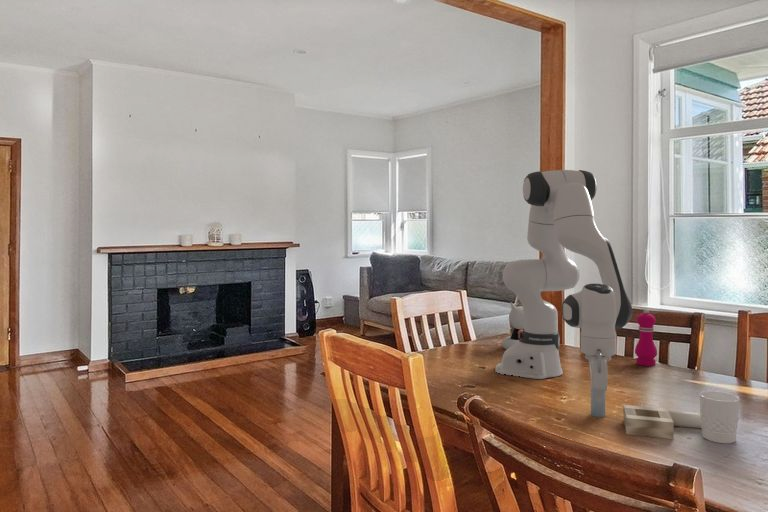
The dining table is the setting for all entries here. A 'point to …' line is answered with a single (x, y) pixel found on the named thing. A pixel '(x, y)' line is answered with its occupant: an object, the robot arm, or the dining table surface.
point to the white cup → (719, 416)
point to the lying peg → (686, 419)
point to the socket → (648, 421)
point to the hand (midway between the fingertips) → (597, 397)
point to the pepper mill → (646, 340)
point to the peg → (597, 405)
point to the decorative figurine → (514, 325)
